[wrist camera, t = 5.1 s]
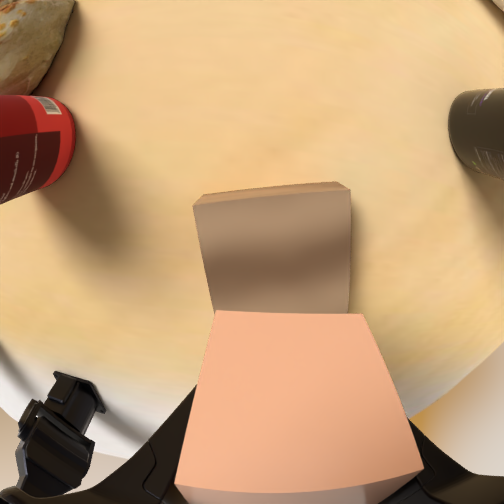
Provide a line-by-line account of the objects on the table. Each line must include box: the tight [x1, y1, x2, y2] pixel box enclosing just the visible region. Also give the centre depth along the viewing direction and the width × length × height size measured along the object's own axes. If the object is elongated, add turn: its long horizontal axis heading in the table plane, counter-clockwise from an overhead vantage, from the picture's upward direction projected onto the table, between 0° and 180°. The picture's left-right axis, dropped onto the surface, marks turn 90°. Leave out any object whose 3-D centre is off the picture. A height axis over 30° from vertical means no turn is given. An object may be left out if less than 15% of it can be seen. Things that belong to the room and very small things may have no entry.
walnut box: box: [193, 182, 351, 314], centre depth 19 cm, size 9×9×4 cm
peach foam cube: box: [174, 310, 424, 504], centre depth 7 cm, size 5×5×6 cm
